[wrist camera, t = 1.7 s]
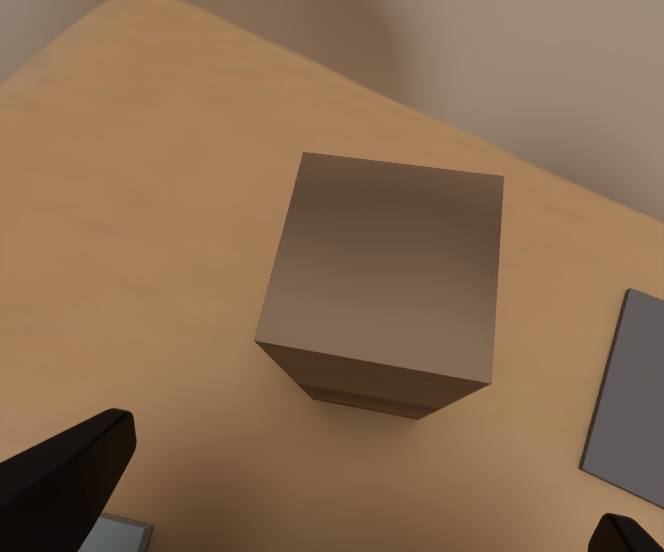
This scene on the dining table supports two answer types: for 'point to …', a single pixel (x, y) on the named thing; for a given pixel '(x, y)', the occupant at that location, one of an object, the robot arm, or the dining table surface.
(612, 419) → the mat
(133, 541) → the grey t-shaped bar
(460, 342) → the walnut block
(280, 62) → the dining table surface
